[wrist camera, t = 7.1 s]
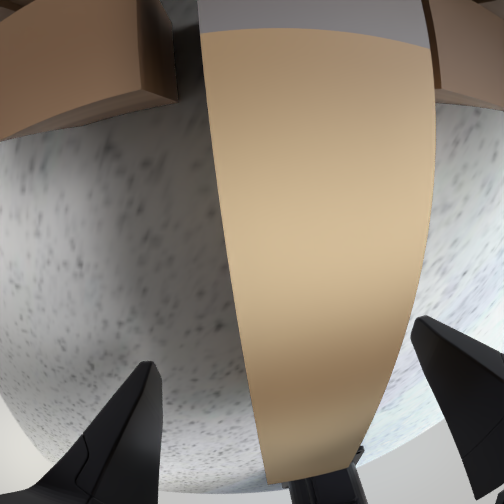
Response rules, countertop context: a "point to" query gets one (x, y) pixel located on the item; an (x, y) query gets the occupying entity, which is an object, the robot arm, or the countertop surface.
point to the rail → (320, 207)
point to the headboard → (163, 62)
